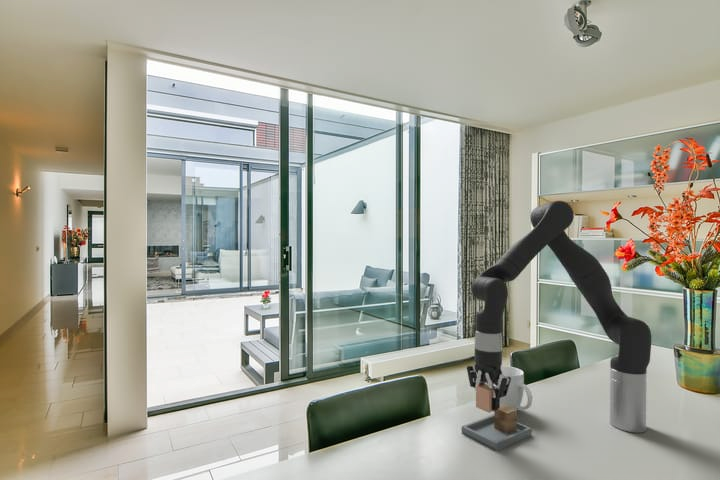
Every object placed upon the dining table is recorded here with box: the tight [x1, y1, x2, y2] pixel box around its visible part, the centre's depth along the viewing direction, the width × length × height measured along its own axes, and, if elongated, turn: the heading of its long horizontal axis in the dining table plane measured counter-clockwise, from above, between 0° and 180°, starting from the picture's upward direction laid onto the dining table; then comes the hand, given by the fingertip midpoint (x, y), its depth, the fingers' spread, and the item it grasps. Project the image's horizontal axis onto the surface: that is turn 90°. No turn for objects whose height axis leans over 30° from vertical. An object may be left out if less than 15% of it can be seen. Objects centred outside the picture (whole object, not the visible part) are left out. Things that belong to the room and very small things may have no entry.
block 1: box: [475, 383, 496, 413], centre depth 115 cm, size 4×4×6 cm
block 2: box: [493, 405, 518, 434], centre depth 119 cm, size 4×4×6 cm
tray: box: [461, 413, 532, 452], centre depth 117 cm, size 16×12×2 cm
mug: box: [493, 365, 533, 411], centre depth 133 cm, size 15×11×13 cm
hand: (487, 406), depth 115 cm, fingers closed on block 1, 4 cm apart
